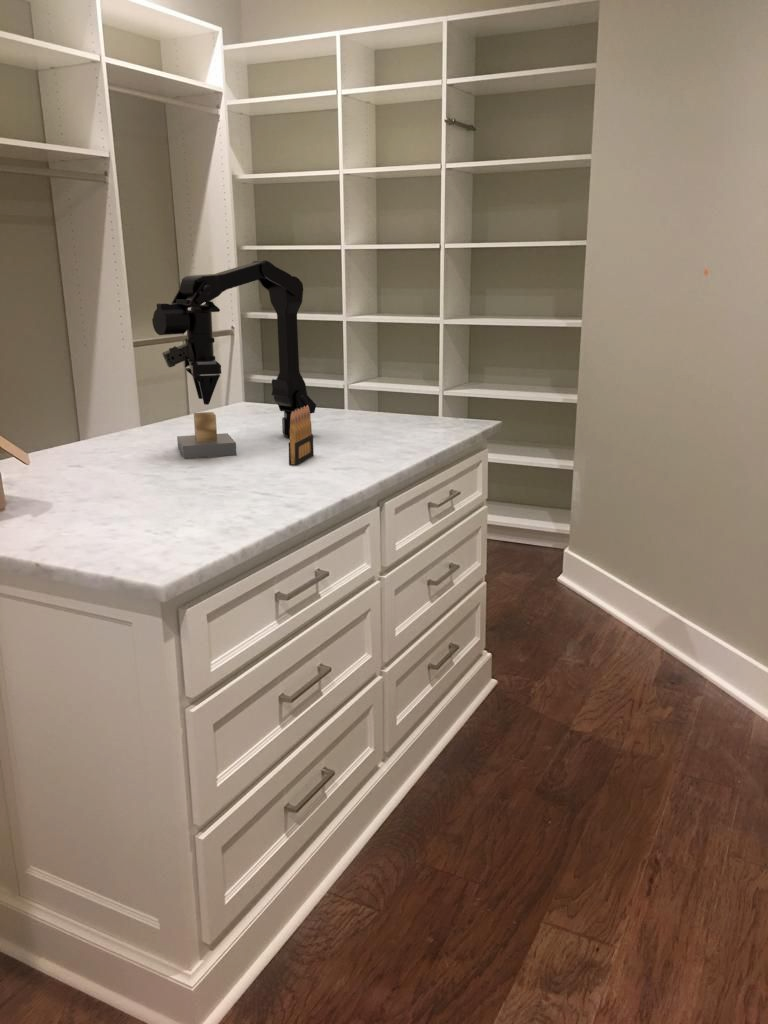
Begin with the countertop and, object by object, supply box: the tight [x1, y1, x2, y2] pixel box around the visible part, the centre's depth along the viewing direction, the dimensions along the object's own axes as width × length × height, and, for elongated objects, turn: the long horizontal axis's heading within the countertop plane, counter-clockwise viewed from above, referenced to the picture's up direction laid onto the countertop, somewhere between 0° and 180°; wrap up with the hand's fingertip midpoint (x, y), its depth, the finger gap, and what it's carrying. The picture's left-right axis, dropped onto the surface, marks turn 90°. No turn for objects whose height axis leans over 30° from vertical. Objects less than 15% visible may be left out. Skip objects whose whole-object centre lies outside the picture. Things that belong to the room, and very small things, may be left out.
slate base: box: [176, 432, 237, 460], centre depth 199 cm, size 12×12×3 cm
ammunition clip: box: [288, 405, 315, 467], centre depth 189 cm, size 11×2×12 cm, turn 164°
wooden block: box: [193, 411, 218, 442], centre depth 198 cm, size 4×4×6 cm
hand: (203, 401), depth 196 cm, fingers open, 9 cm apart
